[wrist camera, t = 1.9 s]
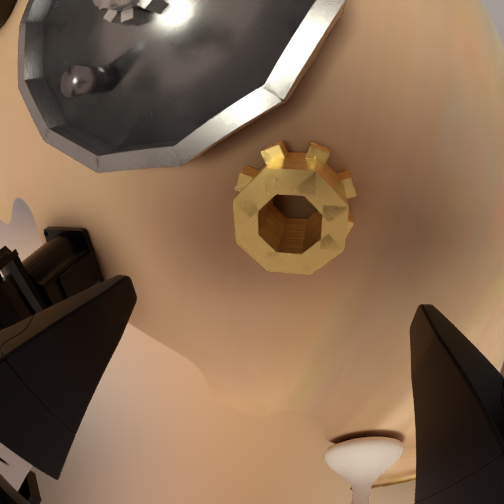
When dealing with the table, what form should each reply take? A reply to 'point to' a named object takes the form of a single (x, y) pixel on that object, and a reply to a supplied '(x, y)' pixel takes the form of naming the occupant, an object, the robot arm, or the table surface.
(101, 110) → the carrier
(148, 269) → the table surface
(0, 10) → the supplement bottle
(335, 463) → the flower in vase
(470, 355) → the robot arm
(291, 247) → the planet gear
